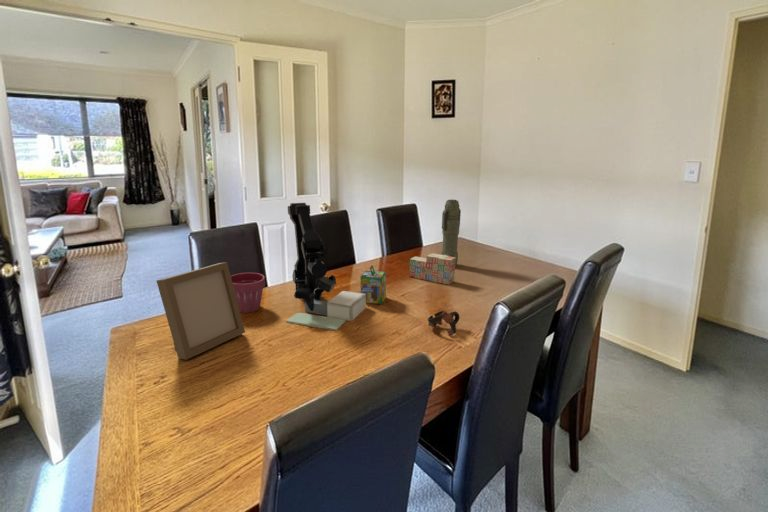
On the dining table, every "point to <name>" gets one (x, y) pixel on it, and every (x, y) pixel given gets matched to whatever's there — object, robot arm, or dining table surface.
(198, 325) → the photo frame
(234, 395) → the dining table surface
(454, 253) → the dark grey statuette
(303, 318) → the felt pad
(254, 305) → the plant pot
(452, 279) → the stack of blocks
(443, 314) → the dark looped figurine
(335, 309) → the gray cuboid case
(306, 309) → the grey blank
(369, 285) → the green product box
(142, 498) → the dining table surface
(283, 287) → the dining table surface
